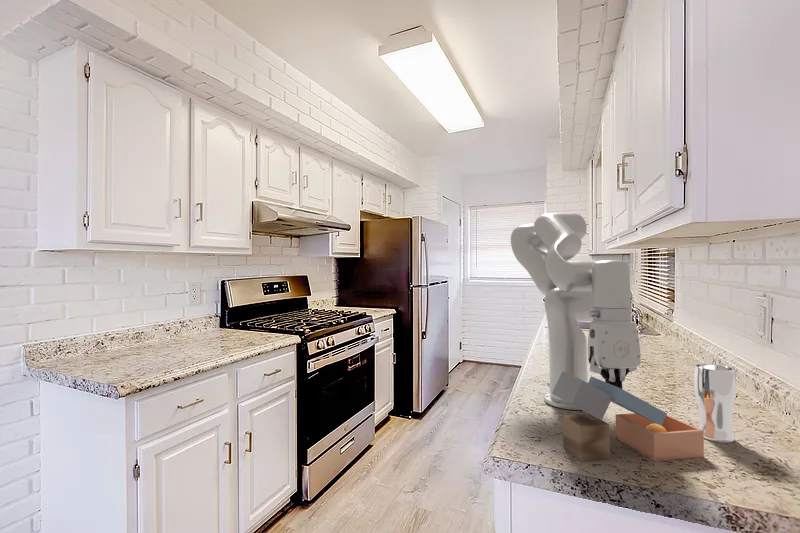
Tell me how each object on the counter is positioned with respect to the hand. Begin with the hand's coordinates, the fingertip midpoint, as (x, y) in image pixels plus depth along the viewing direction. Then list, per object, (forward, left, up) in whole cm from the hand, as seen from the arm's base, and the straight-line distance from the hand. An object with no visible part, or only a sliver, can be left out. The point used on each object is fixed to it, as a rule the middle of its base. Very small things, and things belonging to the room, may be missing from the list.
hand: (614, 398), depth 88 cm
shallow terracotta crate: (+8, +4, -8) cm, 12 cm away
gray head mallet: (+5, -9, -1) cm, 10 cm away
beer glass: (+6, +19, -8) cm, 22 cm away
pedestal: (+8, -12, -8) cm, 16 cm away
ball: (+8, +3, -5) cm, 10 cm away
